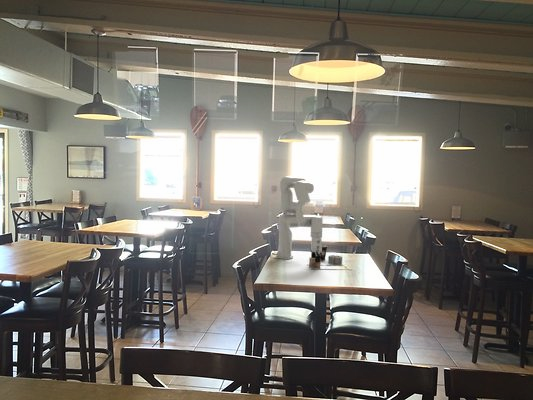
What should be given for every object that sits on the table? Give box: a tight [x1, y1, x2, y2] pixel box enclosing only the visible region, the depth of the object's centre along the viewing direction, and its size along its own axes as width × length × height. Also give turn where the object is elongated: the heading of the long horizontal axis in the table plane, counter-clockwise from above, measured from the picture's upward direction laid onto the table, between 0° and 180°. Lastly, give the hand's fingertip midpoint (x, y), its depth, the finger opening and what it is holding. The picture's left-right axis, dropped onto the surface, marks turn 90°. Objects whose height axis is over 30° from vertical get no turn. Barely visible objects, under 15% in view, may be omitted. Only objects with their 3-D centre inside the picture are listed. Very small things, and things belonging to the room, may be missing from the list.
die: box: [308, 257, 322, 269], centre depth 290 cm, size 6×6×6 cm
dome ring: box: [327, 254, 343, 265], centre depth 307 cm, size 9×9×5 cm
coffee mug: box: [310, 244, 328, 262], centre depth 319 cm, size 12×9×10 cm
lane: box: [310, 264, 352, 271], centre depth 292 cm, size 27×15×1 cm, turn 99°
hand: (315, 260), depth 289 cm, fingers open, 9 cm apart
